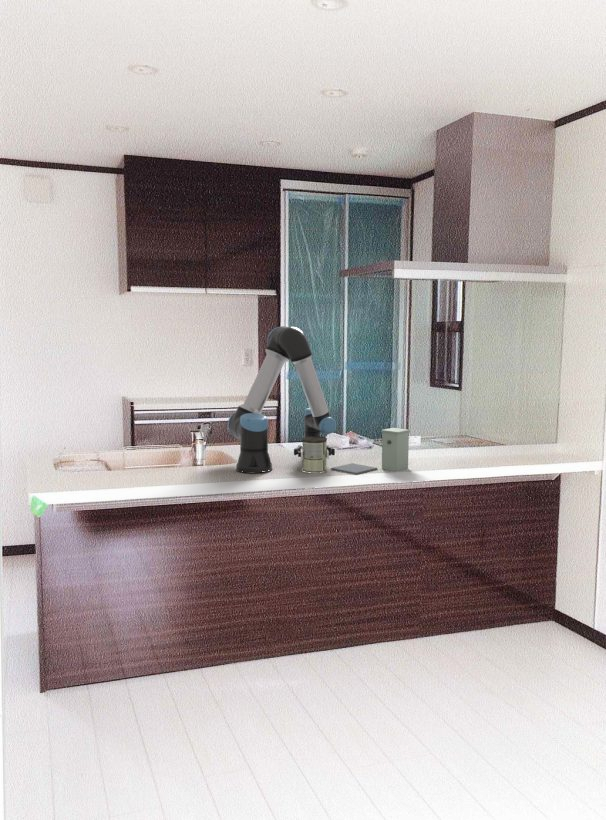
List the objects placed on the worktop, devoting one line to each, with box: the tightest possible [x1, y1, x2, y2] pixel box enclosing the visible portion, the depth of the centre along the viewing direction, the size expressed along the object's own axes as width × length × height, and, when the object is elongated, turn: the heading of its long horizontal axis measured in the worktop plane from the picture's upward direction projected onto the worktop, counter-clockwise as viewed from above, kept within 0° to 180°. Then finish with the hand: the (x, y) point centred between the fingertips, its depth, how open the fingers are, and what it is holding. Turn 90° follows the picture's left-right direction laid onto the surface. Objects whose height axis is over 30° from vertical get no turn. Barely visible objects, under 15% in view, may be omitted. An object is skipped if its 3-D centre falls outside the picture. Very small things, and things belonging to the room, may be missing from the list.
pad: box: [330, 463, 378, 475], centre depth 312 cm, size 14×14×1 cm
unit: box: [380, 427, 411, 472], centre depth 313 cm, size 9×9×17 cm
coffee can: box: [301, 436, 328, 474], centre depth 308 cm, size 10×10×14 cm
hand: (314, 455), depth 304 cm, fingers closed on coffee can, 10 cm apart
